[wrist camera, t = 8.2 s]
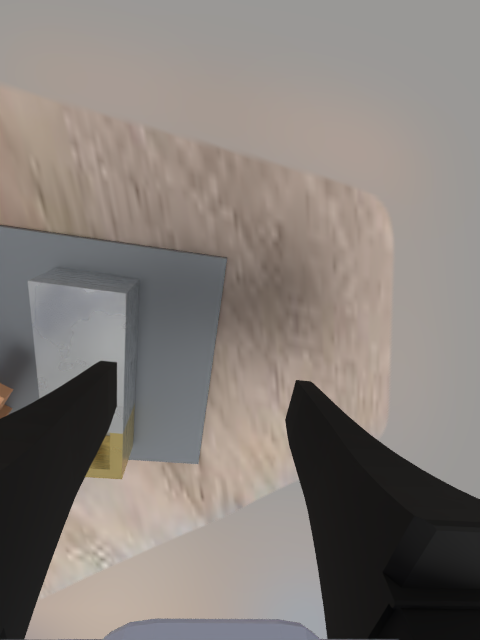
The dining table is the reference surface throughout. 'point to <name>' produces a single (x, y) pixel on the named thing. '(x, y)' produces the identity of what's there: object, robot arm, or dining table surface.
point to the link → (89, 345)
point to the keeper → (4, 400)
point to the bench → (153, 330)
